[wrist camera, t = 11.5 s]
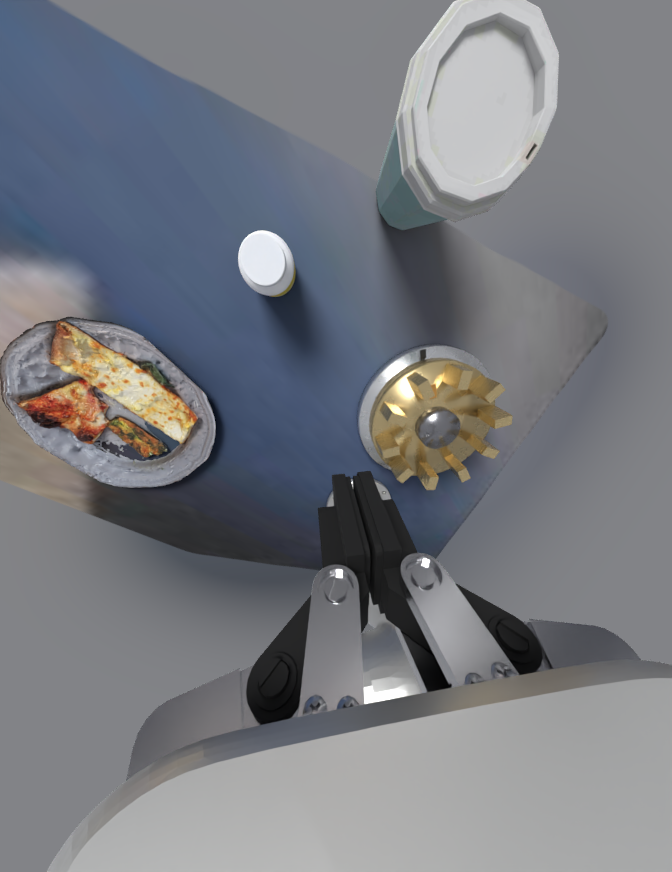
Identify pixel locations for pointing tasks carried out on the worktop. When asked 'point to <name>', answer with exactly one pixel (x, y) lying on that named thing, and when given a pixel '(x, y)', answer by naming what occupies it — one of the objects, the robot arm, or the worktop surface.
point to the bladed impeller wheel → (435, 419)
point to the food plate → (105, 401)
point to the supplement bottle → (267, 264)
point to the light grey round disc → (393, 368)
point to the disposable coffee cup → (469, 113)
